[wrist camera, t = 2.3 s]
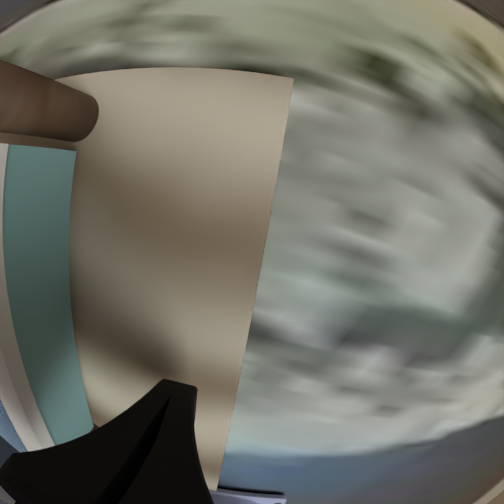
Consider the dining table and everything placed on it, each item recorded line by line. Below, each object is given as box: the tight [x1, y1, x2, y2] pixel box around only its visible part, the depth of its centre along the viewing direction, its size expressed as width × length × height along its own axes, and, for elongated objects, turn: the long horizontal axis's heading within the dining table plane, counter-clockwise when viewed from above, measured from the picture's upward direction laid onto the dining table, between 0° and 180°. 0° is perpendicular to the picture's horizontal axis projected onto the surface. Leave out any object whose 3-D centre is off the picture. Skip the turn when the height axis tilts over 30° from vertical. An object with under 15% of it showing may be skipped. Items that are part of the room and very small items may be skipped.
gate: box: [0, 143, 94, 451], centre depth 8 cm, size 14×2×4 cm, turn 170°
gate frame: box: [0, 60, 294, 491], centre depth 8 cm, size 22×20×7 cm
